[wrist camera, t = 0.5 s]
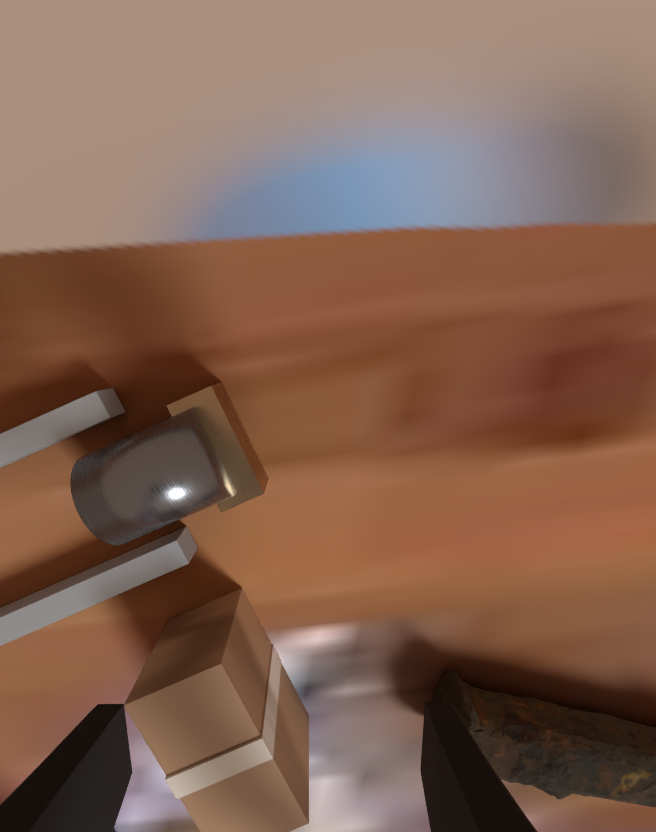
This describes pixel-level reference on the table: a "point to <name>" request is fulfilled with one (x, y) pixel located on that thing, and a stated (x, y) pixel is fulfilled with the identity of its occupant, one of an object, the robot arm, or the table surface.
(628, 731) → the dark brown rough bar
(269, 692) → the block
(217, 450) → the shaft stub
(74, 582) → the cradle
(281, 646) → the table surface
